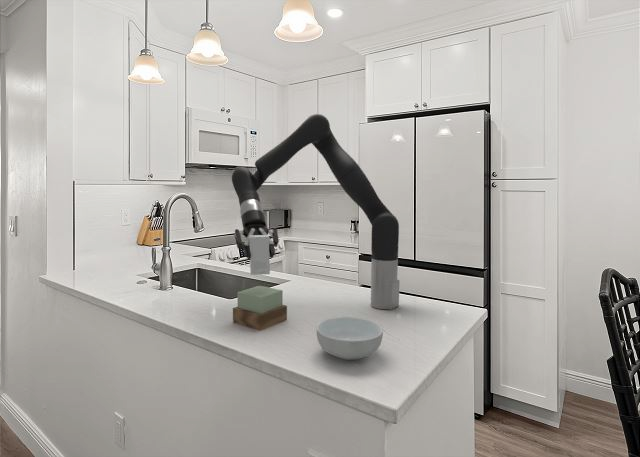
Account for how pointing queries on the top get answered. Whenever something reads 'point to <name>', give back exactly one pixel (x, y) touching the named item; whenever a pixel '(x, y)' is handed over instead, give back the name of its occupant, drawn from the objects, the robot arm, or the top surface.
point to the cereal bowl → (349, 337)
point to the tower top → (260, 299)
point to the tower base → (259, 317)
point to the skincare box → (259, 254)
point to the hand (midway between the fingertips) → (260, 257)
